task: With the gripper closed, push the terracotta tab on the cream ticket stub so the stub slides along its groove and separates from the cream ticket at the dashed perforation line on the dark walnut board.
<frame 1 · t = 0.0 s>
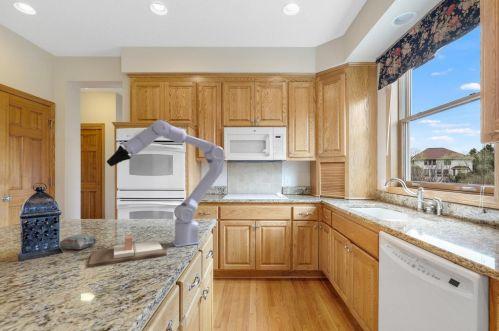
hand: (108, 164, 88), 32 cm above the countertop, fingers open, 7 cm apart
packaged food: (76, 249, 93), on the countertop
stub: (123, 244, 86), point 4 cm above the countertop, slide at 0.0 cm
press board: (129, 254, 87), on the countertop
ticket: (147, 252, 90), resting on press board
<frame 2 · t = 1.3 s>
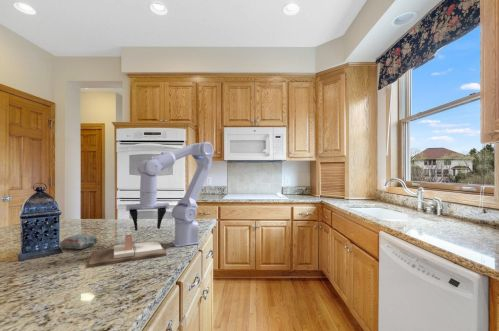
hand: (147, 229, 90), 8 cm above the countertop, fingers open, 7 cm apart
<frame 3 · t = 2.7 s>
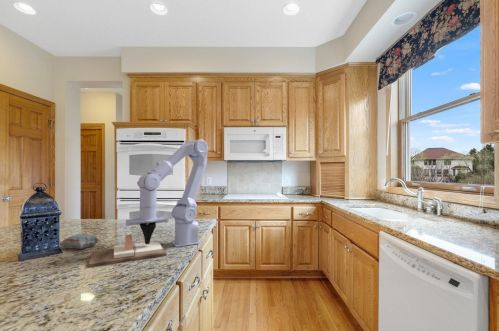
hand: (147, 243, 90), 3 cm above the countertop, fingers closed
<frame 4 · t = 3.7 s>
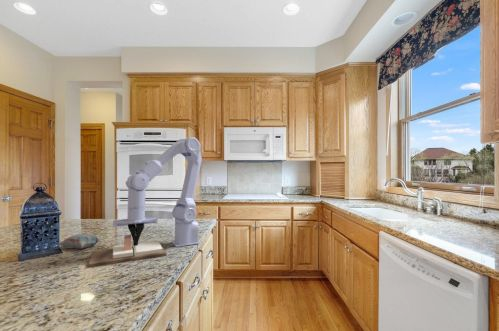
hand: (135, 244, 88), 3 cm above the countertop, fingers closed
stub: (122, 244, 86), point 4 cm above the countertop, slide at 0.3 cm, touching gripper
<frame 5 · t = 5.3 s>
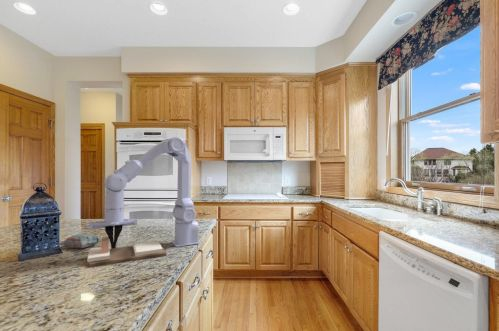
hand: (113, 247, 84), 3 cm above the countertop, fingers closed
stub: (99, 247, 82), point 4 cm above the countertop, slide at 7.3 cm, touching gripper
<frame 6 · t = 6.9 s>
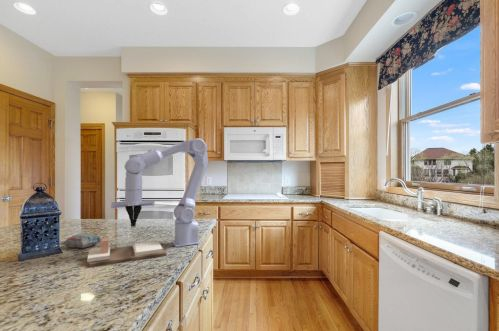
hand: (133, 226, 91), 9 cm above the countertop, fingers closed
stub: (99, 247, 82), point 4 cm above the countertop, slide at 7.3 cm
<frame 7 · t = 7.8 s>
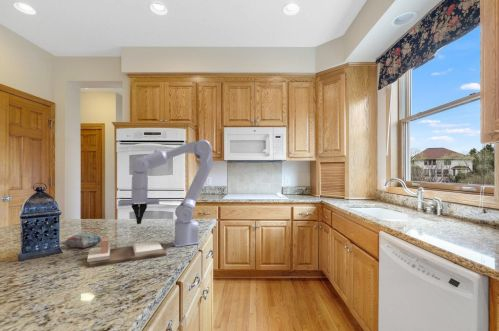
hand: (138, 223, 95), 9 cm above the countertop, fingers closed
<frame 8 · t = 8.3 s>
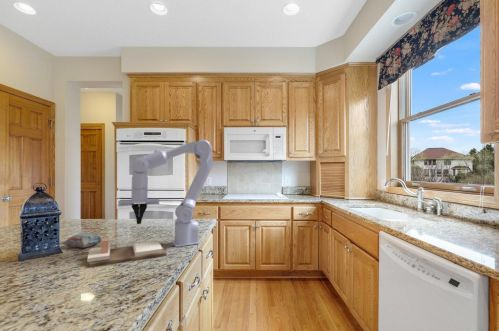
hand: (138, 223, 95), 9 cm above the countertop, fingers closed
at the end: stub slide at 7.3 cm; stub moved 7.3 cm from its start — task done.
